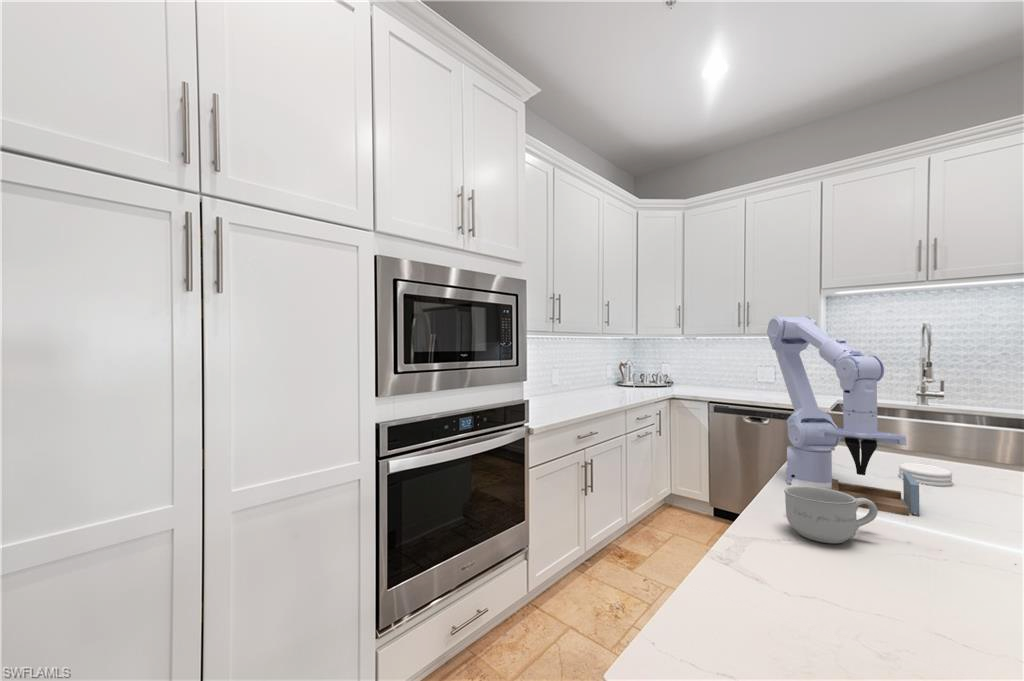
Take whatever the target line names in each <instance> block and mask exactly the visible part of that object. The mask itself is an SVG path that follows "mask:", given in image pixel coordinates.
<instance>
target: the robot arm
mask: <svg viewBox="0 0 1024 681" xmlns="http://www.w3.org/2000/svg"><path fill="white" fill-rule="evenodd" d="M766 333H767V336H768V340H769V343H770V345H771V348H772V349H771V350H773V351H775V355H776V358H777V362H778V365H779V368H780V371H781V374H782V377H783V380H784V383H785V386H786V389H787V392H788V396H789V398H790V402H791V405H792V407H793V411H794V412H793V413H792V414H791V415H790V416H788V418H787V419H786V424H787V436H788V439H789V441H790V442H791V444H792V446H791V445H788V446H787V448H786V467H785V474H786V479H787V480H786V483H787V484H790V485H792V483H793V479H796V480H801V481H807V482H811V483H819V484H828V483H829V484H831V483H832V479H833V472H832V470H833V468H832V467H833V457H832V456H833V454H832V452H833V451H835V450H836V447H838V446H839V444H840V442H841V440H842V439H843V440H844V443H845V445H846V447H847V449H848V451H849V452H850V455H851V458H852V459H853V461H854V465H855V469H856V472H855V473H856V474H857V475H860V476H866V473H867V472H866V471H867V467H868V465H869V462H870V460H871V458H872V456H873V454H874V453H875V452H876V450H877V448H878V443H882V444H883V443H885V444H893V445H894V444H895V445H899V446H907V436H906V435H905V434H903V433H902V434H900V433H892V432H885V431H879V430H878V382H879V381H881V380H882V378H884V374H885V366H884V364H883V362H882V360H881V359H880V358H879V357H878V356H877V355H875V354H874V355H872V354H871V355H866V354H863V353H861V350H859V349H856V348H854V347H853V346H852V345H850V344H849V343H847V340H846V339H845V338H838V337H835V338H832V337H830V336H829V334H827V333H826V332H824V330H822V329H821V328H820V327H819V326H818V322H817V320H815V319H813V318H812V317H811V316H809V315H808V316H773V317H771V319H770V320H769V322H768V326H767V329H766ZM809 344H810V345H812V346H814V347H815V348H816V349H818V353H819V354H818V355H819V357H821V358H822V359H823V360H824V361H826V362H827V363H828V364H829V365H830V366H832V367H833V368H834V369H835V374H836V376H837V378H838V380H839V386H840V389H841V390H842V397H843V398H842V399H843V402H842V403H843V404H842V409H843V410H842V412H843V413H842V414H843V418H842V419H843V422H842V423H843V428H841V427H838V425H836V423H835V422H834V421H833V418H832V416H831V415H830V414H829V413H827V412H825V411H823V410H822V409H820V408H819V406H818V403H817V399H816V397H815V393H814V391H813V388H812V386H811V384H810V380H809V378H808V374H807V371H806V369H805V366H804V364H803V360H802V358H801V356H800V355H801V352H803V351H804V350H806V349H807V347H808V345H809Z"/></svg>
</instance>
